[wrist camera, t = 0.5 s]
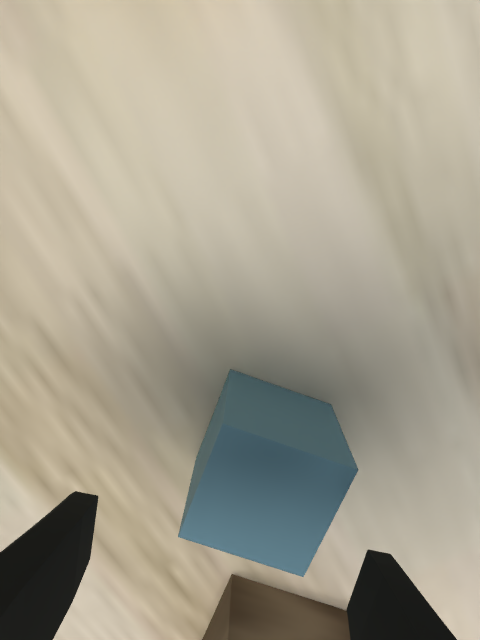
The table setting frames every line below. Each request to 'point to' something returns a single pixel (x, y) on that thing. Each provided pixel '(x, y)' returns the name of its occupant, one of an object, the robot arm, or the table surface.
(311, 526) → the teal cube
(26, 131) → the table surface
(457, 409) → the table surface
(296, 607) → the plate
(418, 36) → the table surface
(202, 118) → the table surface
